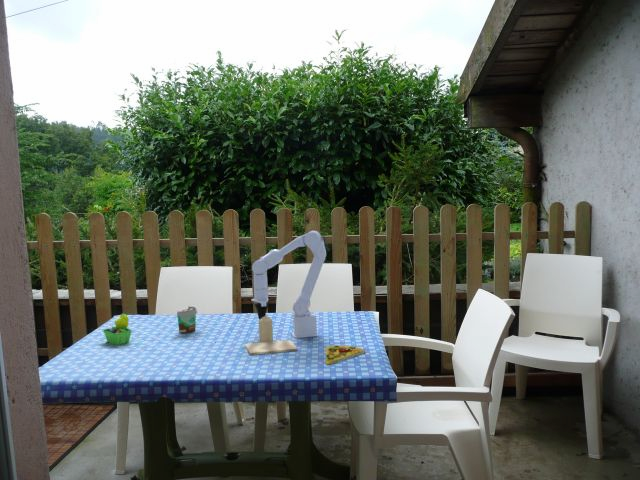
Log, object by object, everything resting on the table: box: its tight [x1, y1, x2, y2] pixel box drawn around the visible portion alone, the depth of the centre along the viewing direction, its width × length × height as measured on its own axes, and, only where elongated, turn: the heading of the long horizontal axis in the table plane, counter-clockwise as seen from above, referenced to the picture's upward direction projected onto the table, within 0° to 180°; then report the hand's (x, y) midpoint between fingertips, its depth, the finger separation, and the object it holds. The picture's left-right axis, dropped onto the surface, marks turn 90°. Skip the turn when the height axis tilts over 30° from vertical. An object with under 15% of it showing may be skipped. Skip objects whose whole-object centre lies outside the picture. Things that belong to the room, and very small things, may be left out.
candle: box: [258, 316, 274, 343], centre depth 227 cm, size 6×6×10 cm
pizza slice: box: [325, 345, 366, 366], centre depth 202 cm, size 16×21×3 cm
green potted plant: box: [102, 313, 133, 346], centre depth 232 cm, size 11×9×11 cm
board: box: [244, 339, 298, 356], centre depth 216 cm, size 18×14×1 cm
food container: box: [176, 305, 198, 335], centre depth 248 cm, size 12×6×10 cm, turn 168°
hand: (261, 320), depth 236 cm, fingers closed
